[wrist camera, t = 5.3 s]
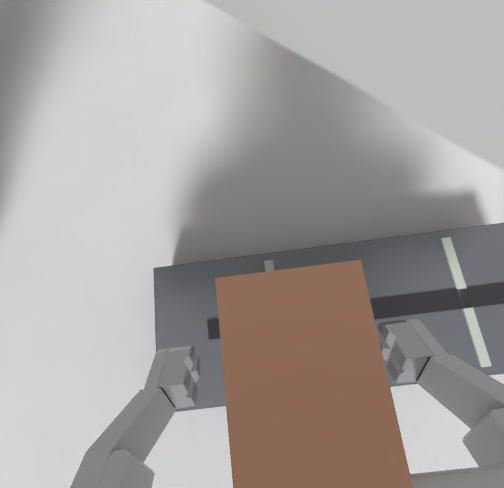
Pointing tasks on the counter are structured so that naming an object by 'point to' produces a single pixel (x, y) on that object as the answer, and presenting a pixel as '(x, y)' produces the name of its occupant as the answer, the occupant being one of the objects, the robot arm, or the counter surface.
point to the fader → (307, 381)
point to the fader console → (379, 288)
